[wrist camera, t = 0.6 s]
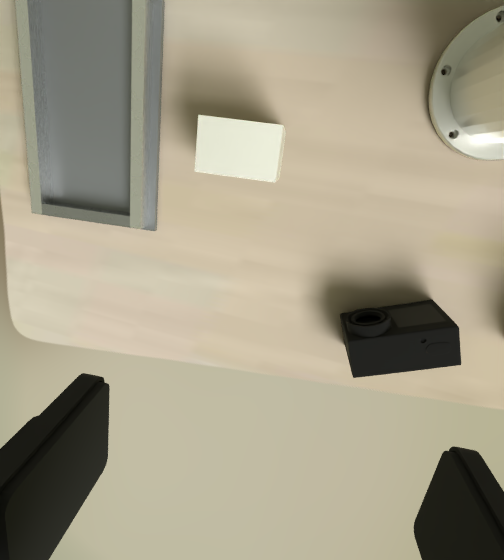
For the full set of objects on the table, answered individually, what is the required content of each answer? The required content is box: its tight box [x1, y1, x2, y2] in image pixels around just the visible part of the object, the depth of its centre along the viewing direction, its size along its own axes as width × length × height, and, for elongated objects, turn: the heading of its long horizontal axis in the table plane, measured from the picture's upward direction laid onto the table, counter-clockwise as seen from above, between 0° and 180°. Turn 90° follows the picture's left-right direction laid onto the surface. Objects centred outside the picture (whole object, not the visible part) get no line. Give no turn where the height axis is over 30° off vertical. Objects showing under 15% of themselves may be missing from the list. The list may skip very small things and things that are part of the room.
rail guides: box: [15, 0, 154, 229], centre depth 37 cm, size 21×12×2 cm, turn 173°
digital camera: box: [340, 300, 461, 378], centre depth 38 cm, size 10×5×7 cm, turn 103°
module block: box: [195, 115, 286, 182], centre depth 34 cm, size 4×7×8 cm, turn 83°
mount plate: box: [41, 0, 164, 231], centre depth 38 cm, size 22×14×1 cm, turn 173°
